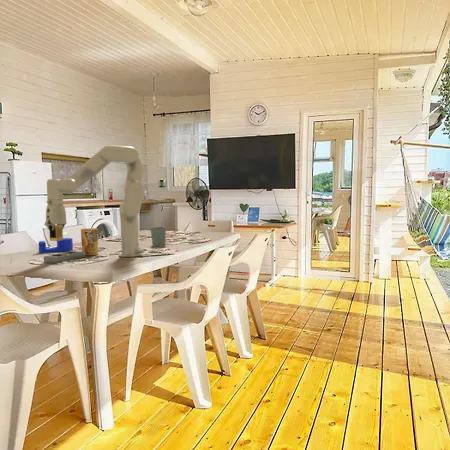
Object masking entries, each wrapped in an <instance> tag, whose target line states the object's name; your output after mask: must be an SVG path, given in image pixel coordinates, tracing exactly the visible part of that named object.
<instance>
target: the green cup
mask: <svg viewBox="0 0 450 450" xmlns="http://www.w3.org/2000/svg"><path fill="white" fill-rule="evenodd" d="M166 231H167V227H165V226H156V227H151V228H150V234H151V243H152V244H151V245H152V247H164V246H166V245H167V243H166V242H167V241H166V237H167V235H166Z"/></svg>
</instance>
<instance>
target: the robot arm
mask: <svg viewBox="0 0 450 450" xmlns="http://www.w3.org/2000/svg"><path fill="white" fill-rule="evenodd" d="M139 154H140V153H139V151H138V149H136V148H135V147H133V146H124V145H122V146H121V145H109V144H108V145H104V146H103V147H102V148H101V149H100V150H99V151H97V152H96V153H95V154H94V155H92V156H91V157H90V158H89V159H87V160H86V161H85V162H84V163H83V164H82V165H81V167H80V168H78V170H77V171H75V172H74V173H72V175H71V176H69V177H68V178H66V179H59V178H50V179H47V181H46V197H47V200H46V204H47V205H46V209H45V222H44V226H45V227H46V228H47V229H48V231H49V239H50V238H55V230H54V227H55V225H62V228H63V229H64V227H65V226H66V225H67V214H66V213H67V212H66V209H65V208H66V207H65V205H64V200H63V198H64V197H63V196H64V193H67V194H74V193H75V192H77V190H78V189H80V188H81V187H82V186H83V185H85V184H86V183H87V181H90V180H91V179H92V178H94V177H95V176H96V175H98V174H99V173H101V171H102V170H104V169H106V167H107V166H108V165H110V164H111V163H112V162H115V163H116V162H118V163H124V164H125V165H126V168H127V170H126V171H127V172H126V178H125V183H124V186H123V192H124V200H123V201H121V203H120V205H119V209H118V212H119V219H120V243H121V252H120V253H119V254H118V257H121V258H123V257H124V258H133V257H140V256H142V255H143V253H144V252H145V249H141V246H139V245H140V244H139V220H138V219H139V218H138V215H139V213H140V212H141V209H142V203H143V197H144V192H145V190H144V189H145V187H144V186H143V183H142V180H143V173H144V167H143V163H142V161H141V158H140V157H139V156H140V155H139ZM51 225H52V227H51Z"/></svg>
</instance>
